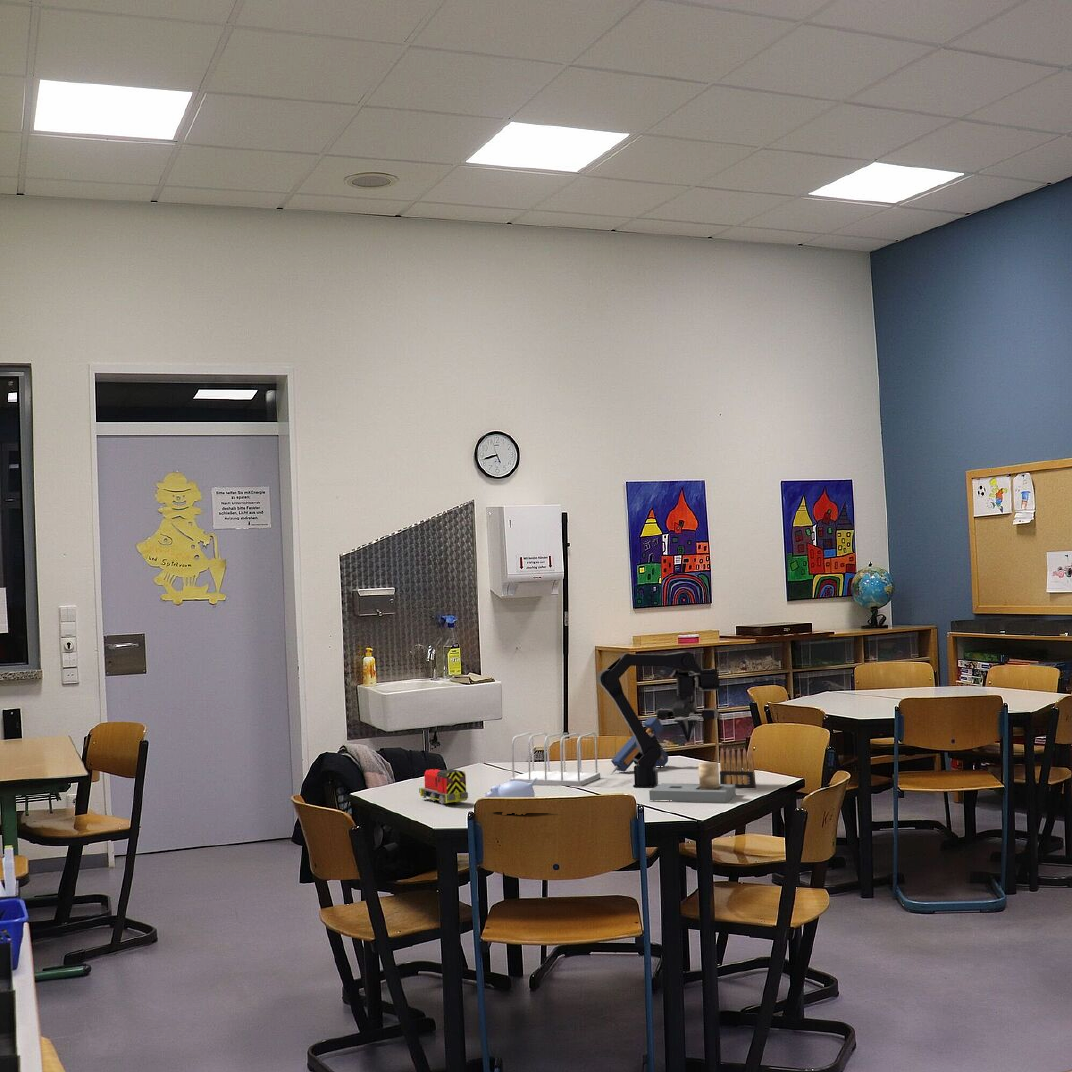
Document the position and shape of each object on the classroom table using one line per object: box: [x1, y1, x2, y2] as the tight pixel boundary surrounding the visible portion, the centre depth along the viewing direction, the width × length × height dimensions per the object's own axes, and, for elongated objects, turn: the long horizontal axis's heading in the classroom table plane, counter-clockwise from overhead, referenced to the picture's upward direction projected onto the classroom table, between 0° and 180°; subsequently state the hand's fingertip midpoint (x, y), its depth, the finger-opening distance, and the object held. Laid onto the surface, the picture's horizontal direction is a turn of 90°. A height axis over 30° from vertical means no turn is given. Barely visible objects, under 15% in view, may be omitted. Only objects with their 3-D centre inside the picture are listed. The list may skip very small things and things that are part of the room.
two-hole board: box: [649, 782, 737, 804], centre depth 339 cm, size 22×14×3 cm, turn 69°
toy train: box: [418, 767, 469, 805], centre depth 350 cm, size 7×19×10 cm, turn 32°
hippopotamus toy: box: [484, 778, 537, 798], centre depth 328 cm, size 11×15×10 cm
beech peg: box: [698, 761, 720, 790], centre depth 338 cm, size 6×6×10 cm
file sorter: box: [509, 731, 601, 787], centre depth 384 cm, size 25×17×16 cm
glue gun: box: [610, 716, 669, 775], centre depth 403 cm, size 6×31×15 cm
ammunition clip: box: [719, 747, 757, 789], centre depth 355 cm, size 11×2×12 cm, turn 65°
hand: (688, 741), depth 367 cm, fingers closed
